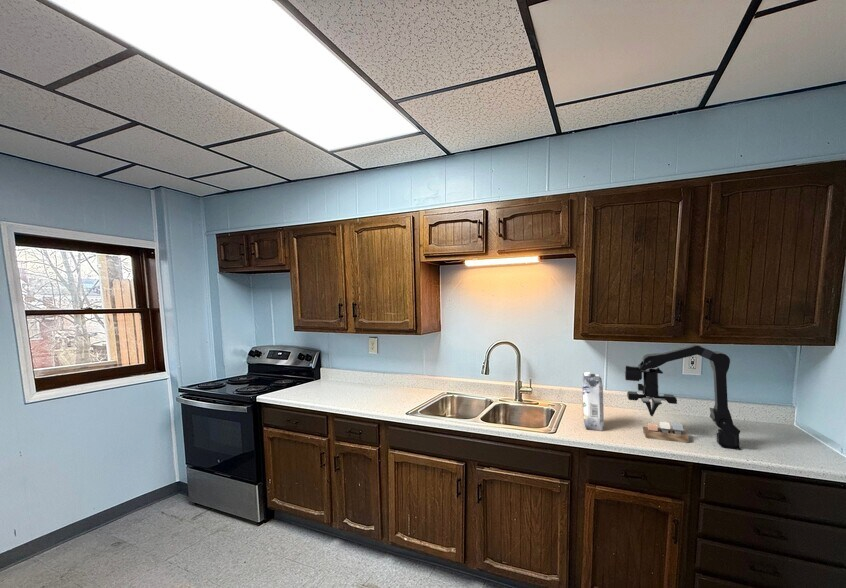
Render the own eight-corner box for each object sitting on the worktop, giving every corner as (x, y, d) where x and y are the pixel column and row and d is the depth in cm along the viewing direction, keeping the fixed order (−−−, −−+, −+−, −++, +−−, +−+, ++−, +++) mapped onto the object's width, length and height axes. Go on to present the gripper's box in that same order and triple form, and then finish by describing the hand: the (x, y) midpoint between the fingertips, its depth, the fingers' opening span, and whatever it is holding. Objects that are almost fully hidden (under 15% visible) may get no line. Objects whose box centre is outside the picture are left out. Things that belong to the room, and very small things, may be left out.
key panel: (684, 436, 161) (684, 430, 161) (688, 442, 154) (688, 436, 154) (643, 432, 167) (643, 426, 167) (645, 437, 160) (645, 431, 161)
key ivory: (668, 432, 161) (668, 422, 161) (670, 435, 158) (670, 424, 158) (659, 431, 163) (659, 421, 163) (661, 434, 160) (661, 423, 160)
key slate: (681, 433, 160) (680, 423, 160) (683, 436, 156) (682, 425, 156) (672, 433, 161) (671, 422, 161) (674, 435, 158) (673, 425, 158)
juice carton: (602, 424, 178) (600, 371, 178) (604, 432, 168) (603, 375, 168) (582, 422, 181) (581, 370, 181) (584, 430, 171) (582, 374, 172)
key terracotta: (656, 434, 163) (655, 424, 163) (657, 437, 160) (657, 426, 160) (647, 433, 165) (647, 423, 165) (649, 436, 162) (648, 425, 162)
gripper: (670, 379, 166) (671, 412, 166) (625, 376, 174) (626, 408, 174) (676, 385, 156) (677, 420, 156) (628, 382, 164) (629, 415, 163)
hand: (651, 415), depth 163 cm, fingers closed
